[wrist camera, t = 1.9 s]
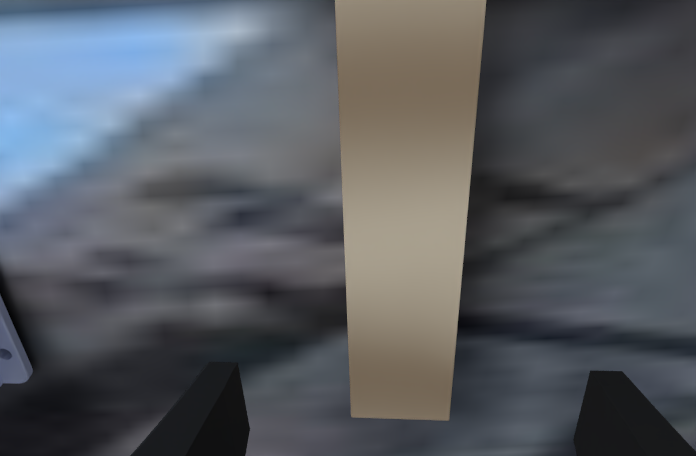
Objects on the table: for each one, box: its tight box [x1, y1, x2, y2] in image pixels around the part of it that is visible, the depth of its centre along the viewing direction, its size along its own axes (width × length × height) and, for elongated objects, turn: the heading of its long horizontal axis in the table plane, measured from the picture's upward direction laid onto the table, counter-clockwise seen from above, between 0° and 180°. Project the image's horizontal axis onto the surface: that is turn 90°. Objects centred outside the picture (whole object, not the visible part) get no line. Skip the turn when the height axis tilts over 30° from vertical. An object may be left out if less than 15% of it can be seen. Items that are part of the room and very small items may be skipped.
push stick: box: [335, 0, 486, 421], centre depth 13 cm, size 16×2×5 cm, turn 2°
